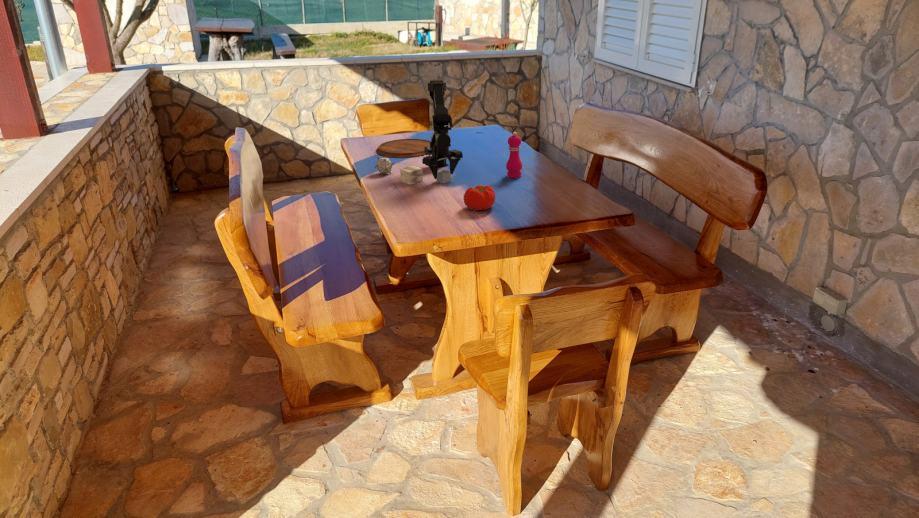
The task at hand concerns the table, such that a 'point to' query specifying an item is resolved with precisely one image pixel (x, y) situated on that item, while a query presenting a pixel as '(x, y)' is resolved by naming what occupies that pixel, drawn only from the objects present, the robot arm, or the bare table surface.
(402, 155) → the cutting board
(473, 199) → the tomato
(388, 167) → the spiky ball
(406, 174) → the slab upper
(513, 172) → the pepper mill
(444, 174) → the cube
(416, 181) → the slab lower
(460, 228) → the table surface
